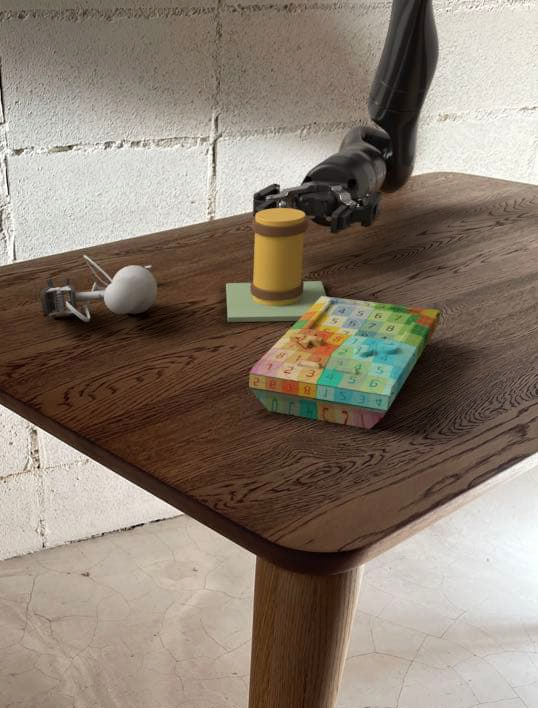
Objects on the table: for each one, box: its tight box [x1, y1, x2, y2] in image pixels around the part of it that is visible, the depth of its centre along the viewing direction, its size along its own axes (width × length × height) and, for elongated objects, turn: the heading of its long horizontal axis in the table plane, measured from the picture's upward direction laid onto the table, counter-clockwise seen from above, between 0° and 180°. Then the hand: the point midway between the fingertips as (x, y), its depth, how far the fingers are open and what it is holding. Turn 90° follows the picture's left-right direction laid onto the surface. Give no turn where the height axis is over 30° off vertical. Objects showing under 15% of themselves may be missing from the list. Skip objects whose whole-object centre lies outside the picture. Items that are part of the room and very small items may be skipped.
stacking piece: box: [250, 207, 309, 306], centre depth 94 cm, size 6×6×9 cm
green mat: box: [225, 280, 327, 323], centre depth 97 cm, size 11×11×1 cm
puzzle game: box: [248, 296, 442, 430], centre depth 79 cm, size 12×5×20 cm
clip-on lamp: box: [40, 254, 158, 323], centre depth 96 cm, size 12×6×18 cm
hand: (296, 221), depth 97 cm, fingers open, 8 cm apart
